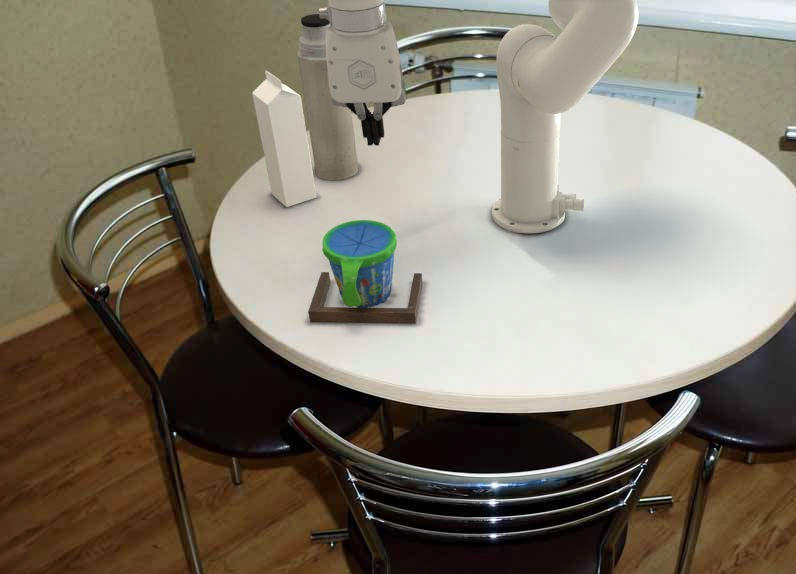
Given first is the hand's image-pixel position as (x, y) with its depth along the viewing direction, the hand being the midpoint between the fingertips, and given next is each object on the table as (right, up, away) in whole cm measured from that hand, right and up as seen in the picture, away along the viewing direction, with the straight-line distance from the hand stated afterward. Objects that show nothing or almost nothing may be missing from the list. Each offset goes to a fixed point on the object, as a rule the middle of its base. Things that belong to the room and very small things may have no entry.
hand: (374, 141), depth 126 cm
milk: (-18, -4, +24) cm, 30 cm away
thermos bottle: (-12, +3, +32) cm, 34 cm away
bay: (-1, -24, -1) cm, 24 cm away
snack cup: (-1, -23, +1) cm, 23 cm away
